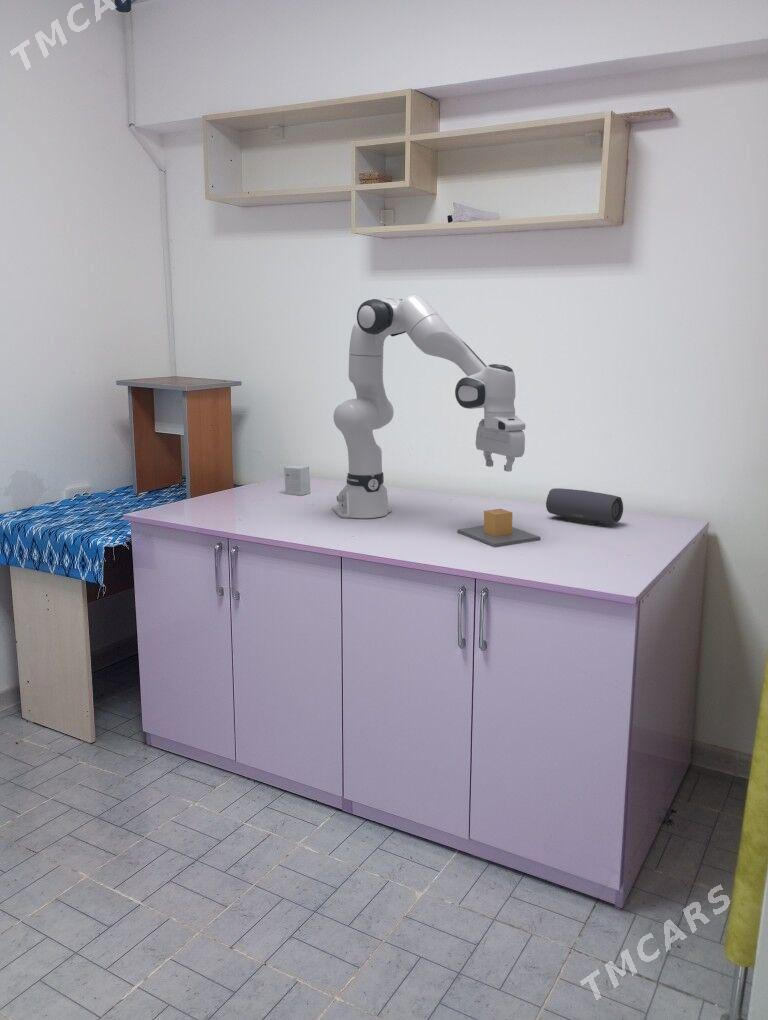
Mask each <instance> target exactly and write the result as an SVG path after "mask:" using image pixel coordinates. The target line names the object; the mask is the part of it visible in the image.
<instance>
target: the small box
mask: <svg viewBox="0 0 768 1020" xmlns="http://www.w3.org/2000/svg"><path fill="white" fill-rule="evenodd" d="M283 470H284V471H283V472H284V488H285V489H284V490H285V491H284V492H285V494H286V495H291V496H292V495H293V496H305V495H309V494H311V476H310V466H307V465H306V466H305V465H297V464H296V465H295V464H292V465H287V466H285V467H284V468H283Z"/></svg>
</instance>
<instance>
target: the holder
mask: <svg viewBox="0 0 768 1020" xmlns="http://www.w3.org/2000/svg"><path fill="white" fill-rule="evenodd" d="M456 531H457V533H458V534H460V535H461V536H466V537H468V538H470V539H473V540H476V541H478V542H480V543H483V544H486V545H487V546H490V547H493V548H498V547H504V546H510V545H517V544H523V543H529V542H530V543H531V542H536V541H541V536H540V535H538V534H534V533H531V532H528V531H525V530H522V529H519V528H516V527H514V526H512V534H507V535H501V536H493V535H490V534H488V533H485V532H484V525H479V526H473V527H472V526H471V527H465V528H458V529H456Z"/></svg>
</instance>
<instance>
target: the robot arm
mask: <svg viewBox="0 0 768 1020" xmlns="http://www.w3.org/2000/svg"><path fill="white" fill-rule="evenodd" d="M356 321H357V322H355V323H354V324H353V326H352V330H351V334H350V340H349V347H348V348H349V349H348V351H349V352H348V379H349V380H348V381H350V382H351V383H352V385H353V387H354V391H355V394H356V398H353V399H348V400H345V401H343V402H342V403H340V404H338V405H337V406H336V408H335V409H334V412H333V423H334V425H335V427H336V428H337V429H338V430H339V431H340V433H341V434H342V436H343V438H344V440H345V444H346V450H347V456H348V473H346V484H345V486H344V487H343V488H342V489H340V492H339V493H338V494H337V495H336V503H338V504H335V505H332V510H333V512H334V513H335V514H337V515H338V516H339V517H340V518H352V519H353V518H354V519H377V518H381V517H385V516H387V515H388V514H389V513H391V512H392V511H393V509H392V507H389V498H388V490H387V487H386V486H385V485H384V481H385V479H384V477H385V476H384V472H383V464H382V463H383V455H382V454H383V451H382V448H381V447H380V446H379V445H378V444H377V442H376V439H375V437H374V430H379V429H382V428H383V427H385V426H387V425H388V424H389V423H390V422H391V421H392V420H393V418H394V414H395V413H394V407H393V405H392V402H391V401H390V400H389V399H388V397H387V394H386V393H387V392H386V389H385V386H384V377H383V376H384V375H383V374H384V345H385V344H384V343H385V340H386V339H387V337H388V336H391V337H396V336H400V335H403V334H405V333H406V334H407V336H408V337H409V339H410V340H411V341H412V342H413V344H414V345H415V346H416V348H418V349H419V350H420V351H421V352H422V353H424V354H426V355H429V356H432V357H436V358H442V359H443V360H444V359H445V360H447V361H450V362H452V363H454V364H455V365H456V366H458V368H459V369H461V371H462V372H463V373H464V374H465V375H466V376H465V377H462V378H461V379H459V380H458V381H457V383H456V386H455V391H454V397H455V399H456V402H457V403H458V405H459V406H460V407H462V408H464V409H469V410H475V409H483V411H484V412H483V414H484V415H483V418H482V419H481V420H480V421H479V423H478V426H477V428H476V429H477V430H476V435H475V448H476V450H478V451H482V452H483V458H484V460H485V466H486V467H488V468H489V467H490V468H491V467H494V460H493V458H492V454H496V455H500V456H505V460H506V463H505V464H504V465H503V470H504V471H505V472H512V471H513V464H514V462H515V461H516V458H522V457H524V454H525V447H526V446H525V445H526V438H525V437H526V434H525V432H524V431H525V430H526V422H525V421H524V420H522V419H521V418H519V417H518V415H516V407H515V398H516V375H515V372H514V369H512V367H510V366H508V365H504V364H497V363H496V364H495V363H492V364H488V365H486V364H485V362H484V361H483V360H482V359H481V358H480V357H479V356H478V355H477V354H476V353H475V351H474V350H472V348H471V347H470V346H469V345H468V344H467V343H466V342H465V341H463V340H462V338H460V337H459V336H458V335H457V334H456V333H455V332H454V330H453V329H451V328H450V326H449V325H448V324H447V323H446V322H445V320H444V319H443V318H442V317H441V315H440V314H439V313H438V312H437V310H435V308H434V307H433V306H432V305H431V304H430V303H429V302H428V301H427V300H425V299H424V298H423V297H422V296H420V295H418V294H409V295H407V296H405V297H404V298H403V299H401V298H400V299H398V298H389V297H387V298H386V297H385V298H379V299H378V298H373V299H368V300H366V301H363V302H362V303H361V304H360V305H359V307H358V308H357V312H356Z"/></svg>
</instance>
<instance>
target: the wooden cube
mask: <svg viewBox="0 0 768 1020" xmlns="http://www.w3.org/2000/svg"><path fill="white" fill-rule="evenodd" d="M483 526H484V532H485V533H488V534H490V535H493V536H501V535H507V534H512V527H513V511H509V510H507V509H503V508H495V509H488V510H483Z"/></svg>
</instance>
